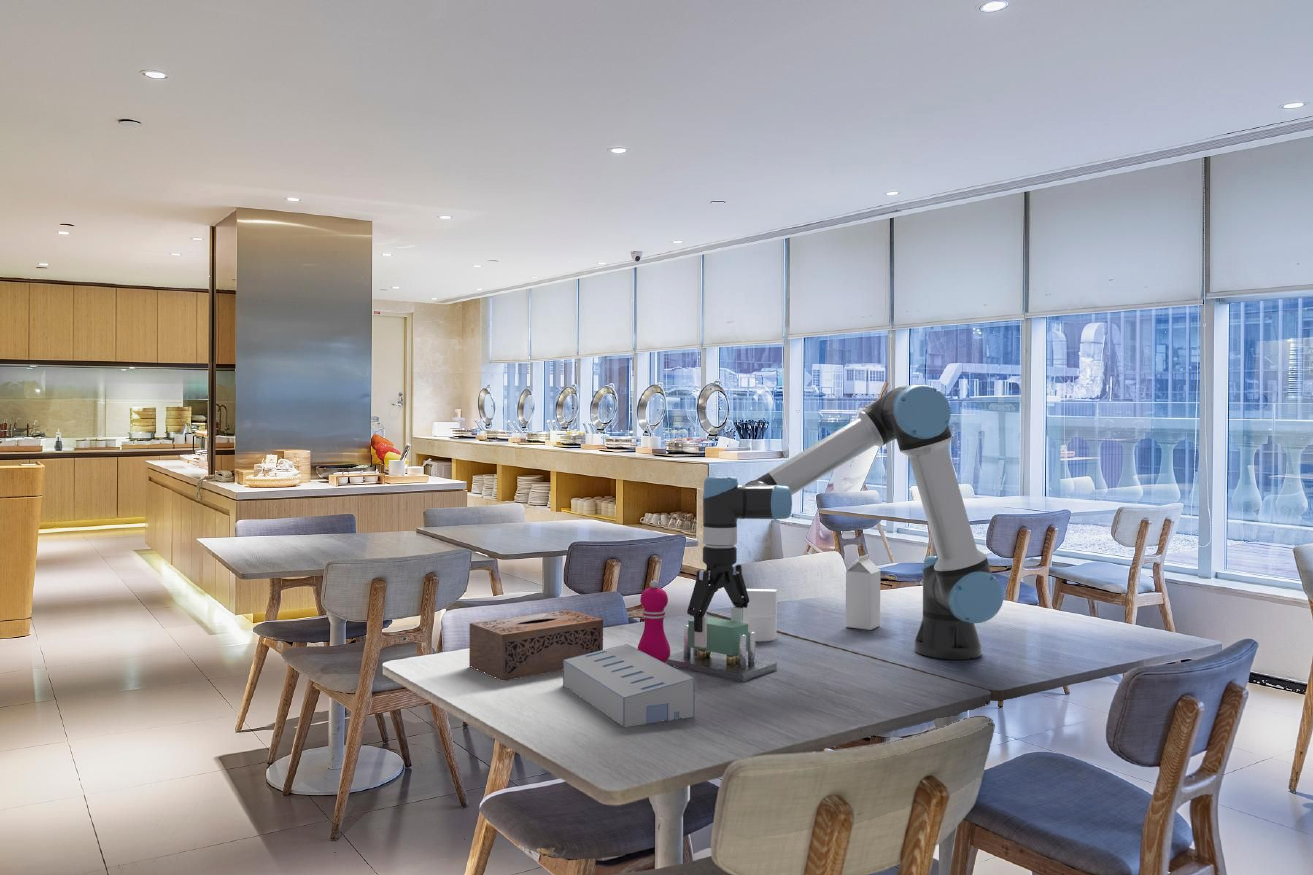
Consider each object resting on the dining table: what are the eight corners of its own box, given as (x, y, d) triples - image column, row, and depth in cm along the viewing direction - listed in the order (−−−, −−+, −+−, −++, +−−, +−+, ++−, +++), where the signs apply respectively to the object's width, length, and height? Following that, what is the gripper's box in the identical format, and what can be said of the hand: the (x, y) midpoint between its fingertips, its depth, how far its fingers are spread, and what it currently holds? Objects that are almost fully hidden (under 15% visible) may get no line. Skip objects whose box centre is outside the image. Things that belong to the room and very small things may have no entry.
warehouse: (563, 687, 199) (563, 650, 198) (626, 679, 205) (627, 643, 205) (623, 729, 172) (623, 686, 172) (694, 718, 178) (694, 677, 178)
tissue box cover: (567, 651, 229) (567, 609, 229) (602, 663, 218) (603, 619, 217) (469, 668, 213) (469, 623, 213) (501, 682, 202) (502, 634, 201)
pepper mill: (646, 678, 204) (646, 583, 204) (631, 670, 211) (631, 578, 211) (676, 674, 208) (676, 581, 208) (660, 666, 214) (661, 576, 214)
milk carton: (880, 626, 259) (880, 555, 259) (870, 630, 253) (871, 558, 253) (854, 622, 263) (855, 553, 263) (845, 627, 257) (845, 556, 257)
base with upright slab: (776, 633, 249) (776, 587, 248) (776, 641, 240) (777, 593, 239) (740, 632, 249) (741, 586, 249) (740, 640, 241) (740, 592, 240)
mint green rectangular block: (747, 650, 213) (748, 623, 213) (732, 655, 208) (732, 627, 208) (704, 642, 220) (704, 616, 220) (688, 647, 216) (688, 620, 216)
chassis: (776, 669, 212) (777, 631, 212) (743, 681, 202) (743, 641, 202) (696, 653, 226) (697, 617, 226) (661, 664, 216) (662, 626, 216)
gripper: (738, 539, 226) (737, 629, 226) (671, 549, 207) (670, 648, 207) (765, 541, 221) (764, 634, 221) (699, 552, 202) (698, 653, 202)
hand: (718, 641), depth 214 cm, fingers open, 13 cm apart
